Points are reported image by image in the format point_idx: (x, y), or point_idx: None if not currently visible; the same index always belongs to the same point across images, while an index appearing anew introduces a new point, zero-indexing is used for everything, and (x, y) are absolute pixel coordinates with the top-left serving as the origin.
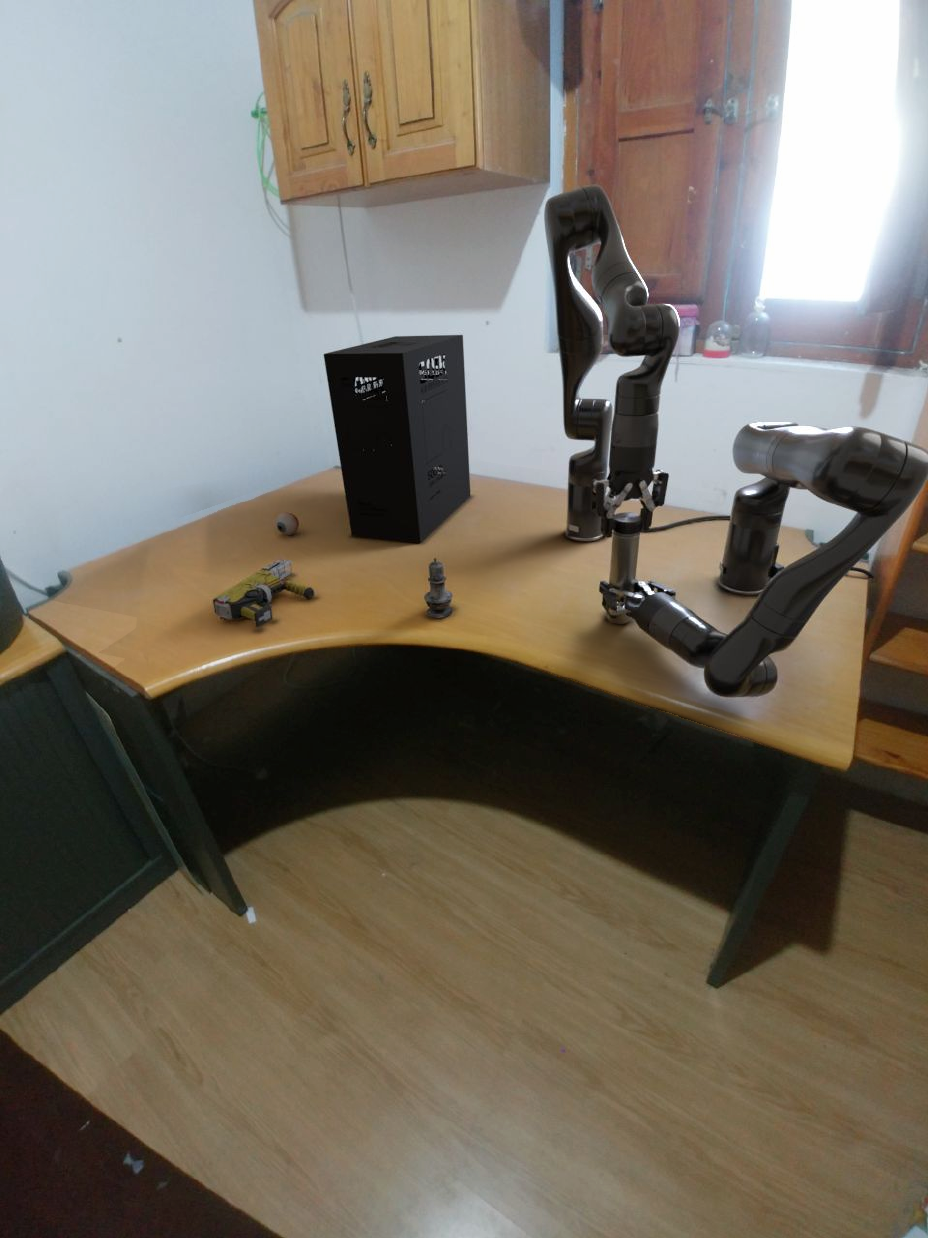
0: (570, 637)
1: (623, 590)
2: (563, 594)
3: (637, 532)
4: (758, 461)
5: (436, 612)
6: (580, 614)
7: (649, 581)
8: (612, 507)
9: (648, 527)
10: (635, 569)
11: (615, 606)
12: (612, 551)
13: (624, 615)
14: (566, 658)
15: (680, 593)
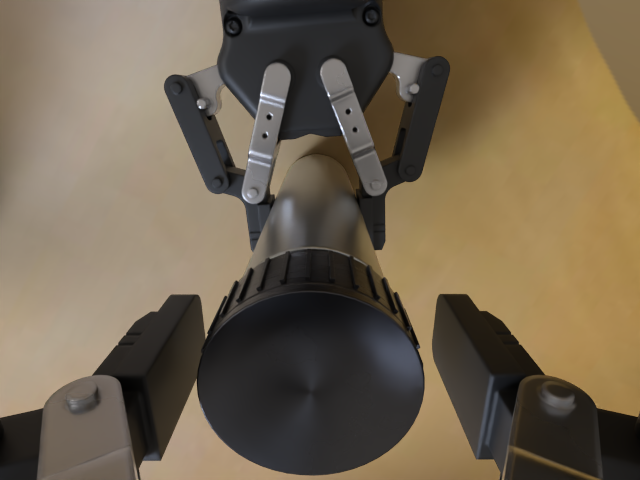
0: (488, 145)
1: (354, 149)
2: None
3: (287, 251)
4: None
5: None
6: (399, 241)
7: (221, 190)
8: (579, 461)
9: (170, 301)
10: (283, 199)
11: (439, 60)
12: None
13: (321, 158)
14: (560, 47)
15: (94, 241)
